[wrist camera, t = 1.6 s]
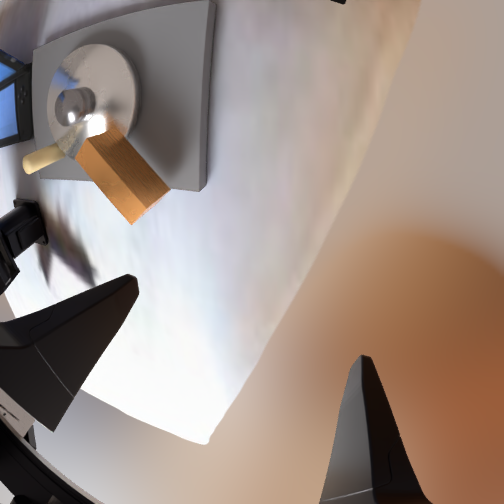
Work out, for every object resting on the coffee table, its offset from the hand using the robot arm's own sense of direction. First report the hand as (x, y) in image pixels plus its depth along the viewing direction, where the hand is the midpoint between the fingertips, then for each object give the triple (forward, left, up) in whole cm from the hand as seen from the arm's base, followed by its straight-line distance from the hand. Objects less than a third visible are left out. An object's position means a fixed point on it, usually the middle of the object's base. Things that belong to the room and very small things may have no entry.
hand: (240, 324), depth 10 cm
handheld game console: (-35, +10, -14) cm, 40 cm away
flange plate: (-15, +5, -12) cm, 20 cm away
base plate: (-16, +7, -14) cm, 22 cm away
